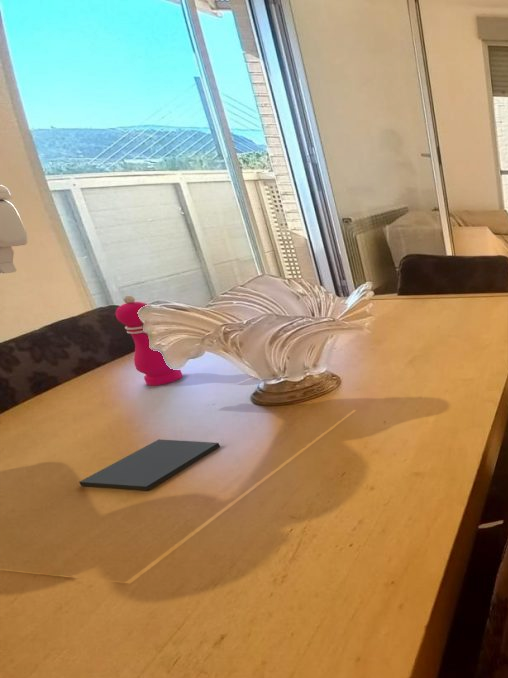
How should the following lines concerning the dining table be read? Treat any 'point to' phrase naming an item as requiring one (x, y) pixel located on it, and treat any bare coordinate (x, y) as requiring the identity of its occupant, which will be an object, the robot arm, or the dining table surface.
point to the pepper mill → (144, 346)
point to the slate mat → (150, 465)
